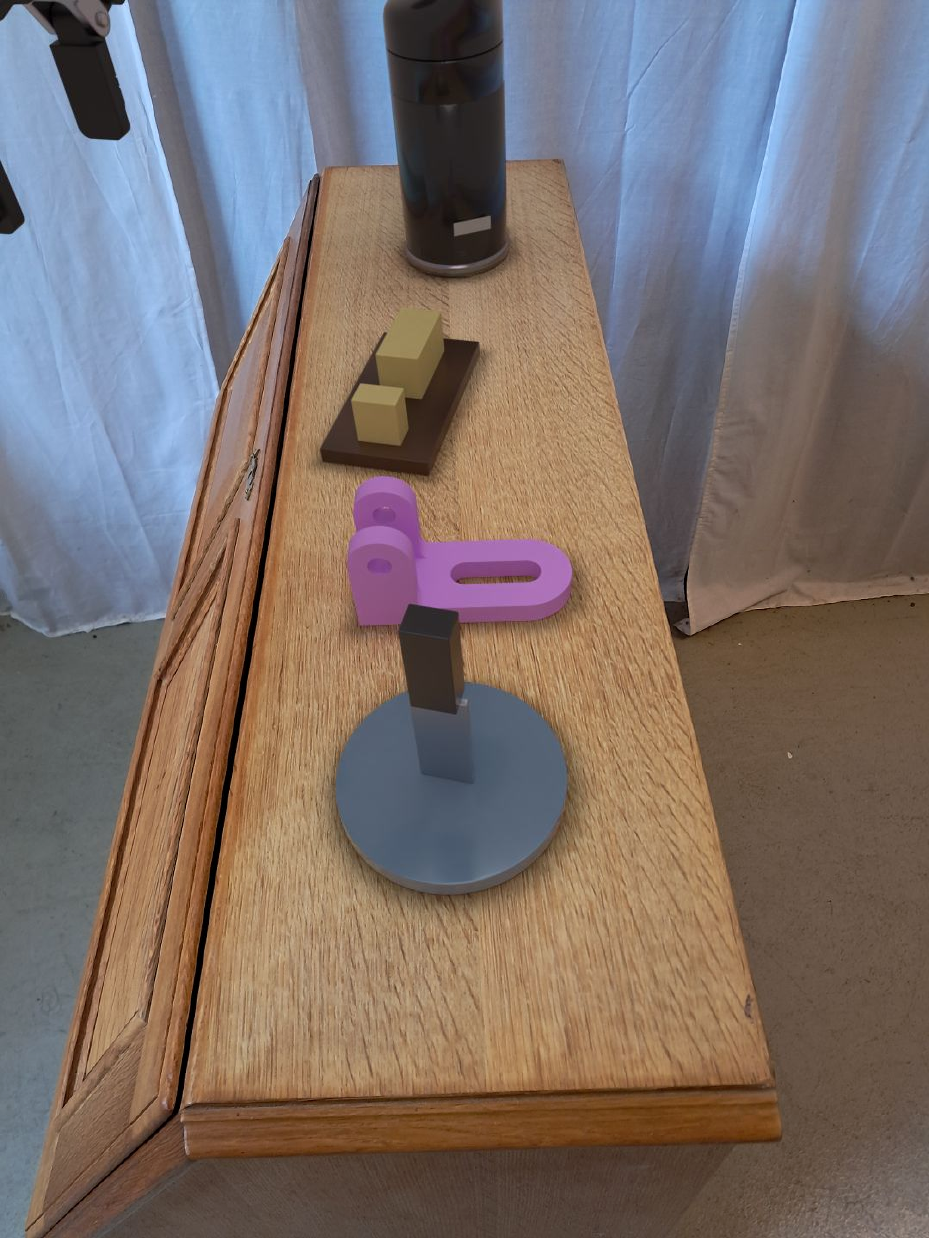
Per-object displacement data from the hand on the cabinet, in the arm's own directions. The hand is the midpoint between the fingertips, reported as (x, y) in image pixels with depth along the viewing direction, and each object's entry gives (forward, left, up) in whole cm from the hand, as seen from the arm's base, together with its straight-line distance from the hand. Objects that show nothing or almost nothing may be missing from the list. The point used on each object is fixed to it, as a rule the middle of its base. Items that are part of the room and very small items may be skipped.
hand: (57, 179), depth 38 cm
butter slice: (-16, +6, -25) cm, 30 cm away
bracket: (-4, +15, -26) cm, 31 cm away
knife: (+10, +18, -25) cm, 32 cm away
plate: (+10, +18, -26) cm, 33 cm away
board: (-21, +6, -26) cm, 34 cm away
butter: (-23, +6, -25) cm, 35 cm away
